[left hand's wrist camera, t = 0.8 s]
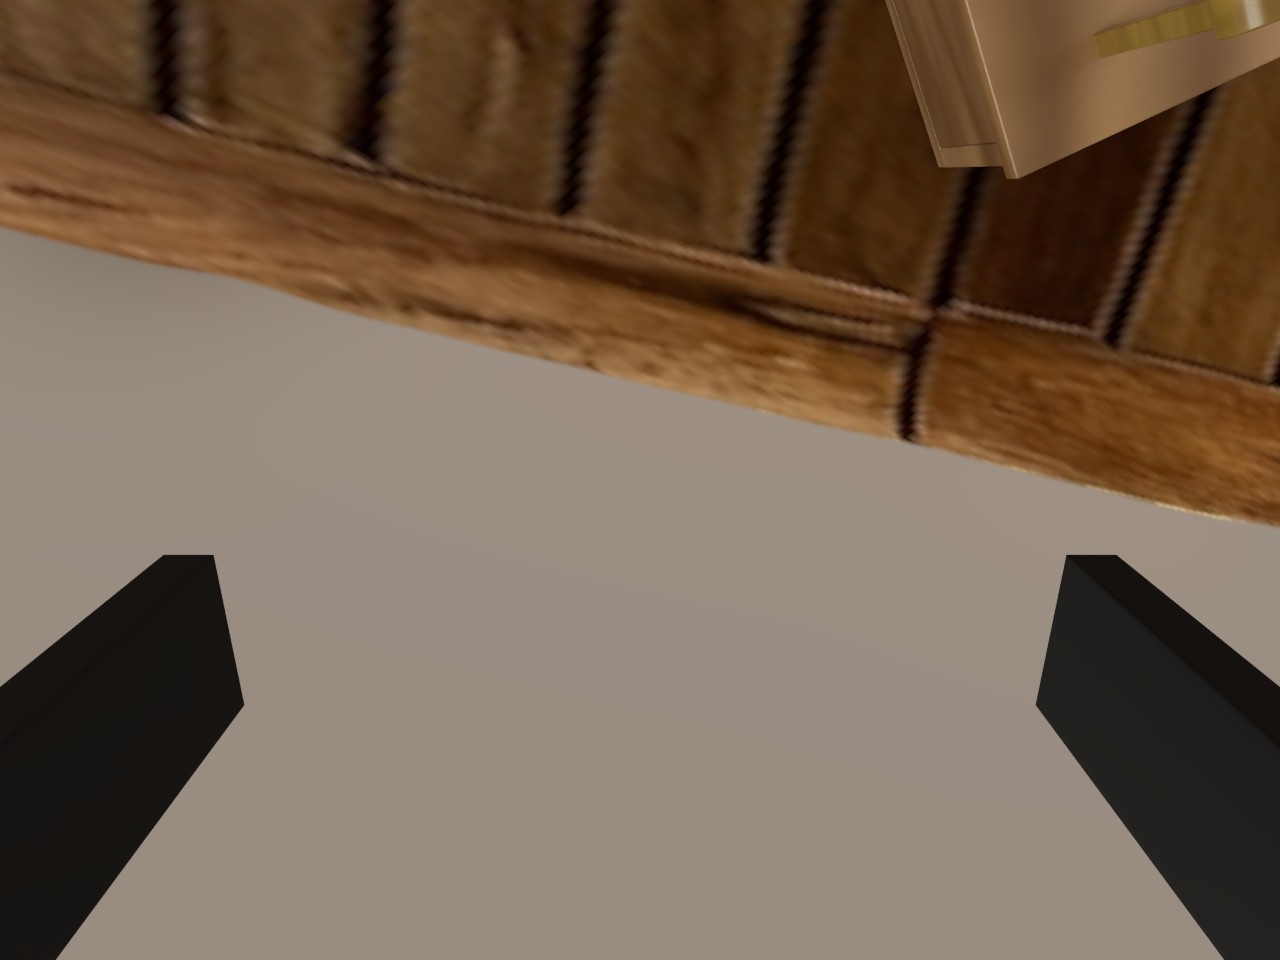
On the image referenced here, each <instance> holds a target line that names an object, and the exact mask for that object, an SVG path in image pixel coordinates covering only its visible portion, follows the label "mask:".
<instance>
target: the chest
mask: <svg viewBox="0 0 1280 960" xmlns="http://www.w3.org/2000/svg"><path fill="white" fill-rule="evenodd" d="M886 4H887V7H888V10H889V13H890V16H891V19H892V22H893V25H894V29H895V32H896V35H897V38H898V41H899V44H900V47H901V50H902V54H903V57H904V60H905V63H906V66H907V69H908V72H909V75H910V79H911V82H912V85H913V88H914V91H915V94H916V97H917V101H918V104H919V107H920V110H921V113H922V116H923V119H924V122H925V126H926V129H927V132H928V135H929V138H930V141H931V144H932V147H933V151H934V154H935V157H936V160H937V163H938V166H939V167H983V166H1003V165H1002V161H1001V158H1000V154H999V151H998V148H997V144H996V141H995V137H994V134H993V131H992V127H991V124H990V120H989V117H988V114H987V110H986V107H985V103H984V100H983V96H982V93H981V90H980V86H979V83H978V79H977V76H976V73H975V69H974V66H973V62H972V59H971V56H970V52H969V49H968V45H967V42H966V39H965V35H964V32H963V28H962V25H961V22H960V18H959V15H958V11H957V8H956V5H955V1H954V0H886Z"/></svg>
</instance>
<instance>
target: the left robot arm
mask: <svg viewBox="0 0 1280 960" xmlns="http://www.w3.org/2000/svg"><path fill="white" fill-rule="evenodd" d="M243 706H244V701H243V697H242V692H241V687H240V682H239V677H238V672H237V668H236V662H235V658H234V653H233V648H232V643H231V638H230V633H229V628H228V624H227V619H226V614H225V609H224V604H223V599H222V594H221V589H220V585H219V580H218V575H217V570H216V565H215V560H214V556H213V555H163V556H162V557H161V558H159V559H158V560H157V561H156V562H154V563H153V564H152V565H151V566H149V567H148V568H147V569H146V570H144V571H143V572H142V573H141V574H139V575H138V576H137V577H136V578H135V579H133V580H132V581H131V582H130V583H128V584H127V585H126V586H125V587H123V588H122V589H121V590H120V591H118V592H117V593H116V594H115V595H113V596H112V597H111V598H110V599H109V600H107V601H106V602H105V603H104V604H102V605H101V606H100V607H99V608H97V609H96V610H95V611H94V612H92V613H91V614H90V615H89V616H87V617H86V618H85V619H84V620H83V621H81V622H80V623H79V624H78V625H76V626H75V627H74V628H73V629H71V630H70V631H69V632H68V633H66V634H65V635H64V636H63V637H62V638H60V639H59V640H58V641H57V642H55V643H54V644H53V645H52V646H50V647H49V648H48V649H47V650H45V651H44V652H43V653H42V654H40V655H39V656H38V657H37V658H36V659H34V660H33V661H32V662H31V663H29V664H28V665H27V666H26V667H24V668H23V669H22V670H21V671H19V672H18V673H17V674H16V675H14V676H13V677H12V678H11V679H9V680H8V681H7V682H6V683H5V684H3V685H2V686H1V687H0V960H56V959H57V957H58V956H59V955H60V953H61V952H62V951H63V949H64V948H65V947H66V945H67V944H68V942H69V941H70V940H71V938H72V937H73V936H74V934H75V933H76V932H77V930H78V929H79V928H80V926H81V925H82V924H83V922H84V921H85V919H86V918H87V917H88V915H89V914H90V913H91V911H92V910H93V909H94V907H95V906H96V905H97V903H98V902H99V901H100V899H101V898H102V897H103V895H104V894H105V892H106V891H107V890H108V888H109V887H110V886H111V884H112V883H113V882H114V880H115V879H116V878H117V876H118V875H119V874H120V872H121V871H122V870H123V868H124V867H125V865H126V864H127V863H128V861H129V860H130V859H131V857H132V856H133V855H134V853H135V852H136V851H137V849H138V848H139V847H140V845H141V844H142V842H143V841H144V840H145V838H146V837H147V836H148V834H149V833H150V832H151V830H152V829H153V828H154V826H155V825H156V824H157V822H158V821H159V820H160V818H161V817H162V815H163V814H164V813H165V811H166V810H167V809H168V807H169V806H170V805H171V803H172V802H173V801H174V799H175V798H176V797H177V795H178V794H179V792H180V791H181V790H182V788H183V787H184V786H185V784H186V783H187V782H188V780H189V779H190V778H191V776H192V775H193V774H194V772H195V771H196V770H197V768H198V767H199V765H200V764H201V763H202V761H203V760H204V759H205V757H206V756H207V755H208V753H209V752H210V751H211V749H212V748H213V747H214V745H215V744H216V742H217V741H218V740H219V738H220V737H221V736H222V734H223V733H224V732H225V730H226V729H227V728H228V726H229V725H230V724H231V722H232V721H233V719H234V718H235V717H236V715H237V714H238V713H239V711H240V710H241V709H242V707H243ZM1036 706H1037V707H1038V709H1039V710H1040V711H1041V713H1042V714H1043V715H1044V717H1045V718H1046V720H1047V721H1048V722H1049V724H1050V725H1051V726H1052V728H1053V729H1054V730H1055V732H1056V733H1057V734H1058V736H1059V737H1060V738H1061V740H1062V741H1063V742H1064V744H1065V745H1066V746H1067V748H1068V749H1069V751H1070V752H1071V753H1072V755H1073V756H1074V757H1075V759H1076V760H1077V761H1078V763H1079V764H1080V765H1081V767H1082V768H1083V770H1084V771H1085V772H1086V774H1087V775H1088V776H1089V778H1090V779H1091V780H1092V782H1093V783H1094V784H1095V786H1096V787H1097V788H1098V790H1099V791H1100V792H1101V794H1102V795H1103V797H1104V798H1105V799H1106V801H1107V802H1108V803H1109V805H1110V806H1111V807H1112V809H1113V810H1114V811H1115V813H1116V814H1117V815H1118V817H1119V818H1120V819H1121V821H1122V822H1123V824H1124V825H1125V826H1126V828H1127V829H1128V830H1129V832H1130V833H1131V834H1132V836H1133V837H1134V838H1135V840H1136V841H1137V842H1138V844H1139V845H1140V846H1141V848H1142V849H1143V851H1144V852H1145V853H1146V855H1147V856H1148V857H1149V859H1150V860H1151V861H1152V863H1153V864H1154V865H1155V867H1156V868H1157V869H1158V871H1159V872H1160V874H1161V875H1162V876H1163V878H1164V879H1165V880H1166V882H1167V883H1168V884H1169V886H1170V887H1171V888H1172V890H1173V891H1174V892H1175V894H1176V895H1177V897H1178V898H1179V899H1180V901H1181V902H1182V903H1183V905H1184V906H1185V907H1186V909H1187V910H1188V911H1189V913H1190V914H1191V915H1192V917H1193V918H1194V919H1195V921H1196V922H1197V924H1198V925H1199V926H1200V928H1201V929H1202V930H1203V932H1204V933H1205V934H1206V936H1207V937H1208V938H1209V940H1210V941H1211V942H1212V944H1213V945H1214V947H1215V948H1216V949H1217V951H1218V952H1219V953H1220V955H1221V956H1222V957H1223V959H1224V960H1280V687H1279V686H1278V685H1277V684H1275V683H1274V682H1273V681H1272V680H1271V679H1269V678H1268V677H1267V676H1265V675H1264V674H1263V673H1262V672H1261V671H1259V670H1258V669H1257V668H1256V667H1254V666H1253V665H1252V664H1251V663H1249V662H1248V661H1247V660H1246V659H1245V658H1243V657H1242V656H1241V655H1240V654H1238V653H1237V652H1236V651H1235V650H1233V649H1232V648H1231V647H1230V646H1228V645H1227V644H1226V643H1225V642H1223V641H1222V640H1221V639H1220V638H1219V637H1217V636H1216V635H1215V634H1214V633H1212V632H1211V631H1210V630H1209V629H1207V628H1206V627H1205V626H1204V625H1202V624H1201V623H1200V622H1199V621H1197V620H1196V619H1195V618H1194V617H1192V616H1191V615H1190V614H1189V613H1188V612H1186V611H1185V610H1184V609H1183V608H1181V607H1180V606H1179V605H1178V604H1176V603H1175V602H1174V601H1173V600H1171V599H1170V598H1169V597H1168V596H1166V595H1165V594H1164V593H1163V592H1162V591H1160V590H1159V589H1158V588H1157V587H1155V586H1154V585H1153V584H1152V583H1150V582H1149V581H1148V580H1147V579H1145V578H1144V577H1143V576H1142V575H1141V574H1139V573H1138V572H1137V571H1135V570H1134V569H1133V568H1132V567H1131V566H1129V565H1128V564H1127V563H1126V562H1124V561H1123V560H1122V559H1121V558H1119V557H1118V556H1117V555H1067V556H1066V560H1065V565H1064V570H1063V575H1062V580H1061V585H1060V590H1059V594H1058V599H1057V604H1056V609H1055V614H1054V619H1053V623H1052V628H1051V633H1050V638H1049V643H1048V648H1047V653H1046V658H1045V663H1044V667H1043V672H1042V677H1041V682H1040V687H1039V692H1038V697H1037V701H1036Z"/></svg>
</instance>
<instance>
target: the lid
mask: <svg viewBox="0 0 1280 960" xmlns="http://www.w3.org/2000/svg"><path fill="white" fill-rule="evenodd" d="M954 1H955V5H956V8H957V11H958V15H959V18H960V22H961V25H962V28H963V32H964V35H965V39H966V42H967V45H968V49H969V52H970V56H971V59H972V62H973V66H974V69H975V73H976V76H977V79H978V83H979V86H980V90H981V93H982V96H983V100H984V103H985V107H986V110H987V114H988V117H989V120H990V124H991V127H992V131H993V134H994V137H995V141H996V144H997V148H998V151H999V154H1000V158H1001V161H1002V165H1003V168H1004V171H1005V175H1006V178H1007V179H1019V178H1021V177H1023V176H1025V175H1028V174H1030V173H1032V172H1034V171H1036V170H1038V169H1040V168H1043V167H1045V166H1047V165H1049V164H1051V163H1053V162H1055V161H1058V160H1060V159H1062V158H1064V157H1066V156H1068V155H1071V154H1073V153H1075V152H1077V151H1079V150H1081V149H1083V148H1086V147H1088V146H1090V145H1092V144H1094V143H1096V142H1098V141H1101V140H1103V139H1105V138H1107V137H1109V136H1111V135H1113V134H1116V133H1118V132H1120V131H1122V130H1124V129H1126V128H1129V127H1131V126H1133V125H1135V124H1137V123H1139V122H1141V121H1144V120H1146V119H1148V118H1150V117H1152V116H1154V115H1156V114H1159V113H1161V112H1163V111H1165V110H1167V109H1169V108H1172V107H1174V106H1176V105H1178V104H1180V103H1182V102H1184V101H1187V100H1189V99H1191V98H1193V97H1195V96H1197V95H1199V94H1202V93H1204V92H1206V91H1208V90H1210V89H1212V88H1214V87H1217V86H1219V85H1221V84H1223V83H1225V82H1227V81H1230V80H1232V79H1234V78H1236V77H1238V76H1240V75H1242V74H1245V73H1247V72H1249V71H1251V70H1253V69H1255V68H1257V67H1260V66H1262V65H1264V64H1266V63H1268V62H1270V61H1272V60H1275V59H1277V58H1279V57H1280V0H954Z"/></svg>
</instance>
